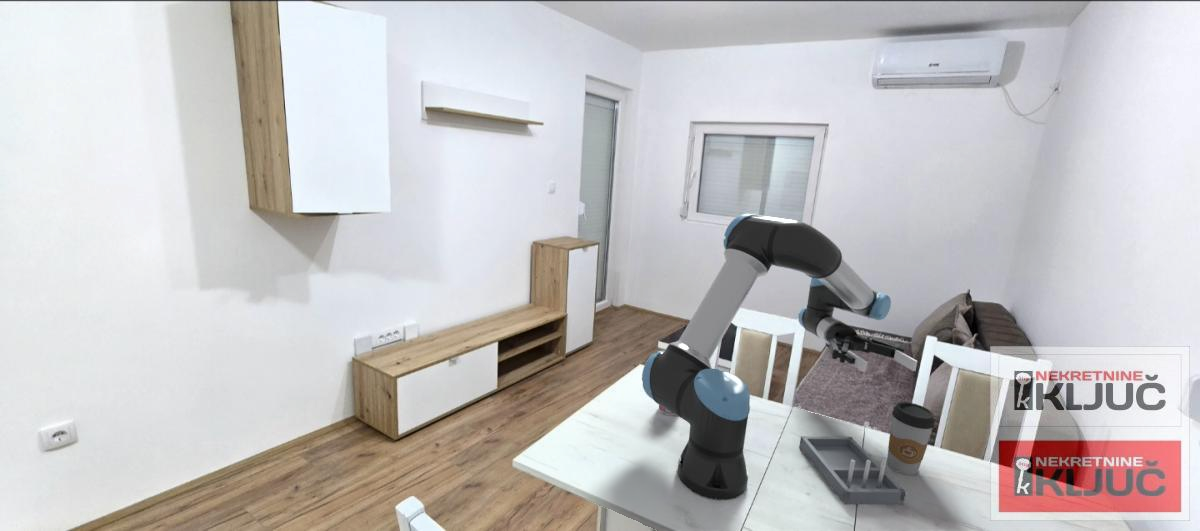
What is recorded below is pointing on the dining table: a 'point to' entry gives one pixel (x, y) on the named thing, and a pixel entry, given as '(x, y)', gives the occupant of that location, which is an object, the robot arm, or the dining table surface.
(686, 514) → the dining table surface
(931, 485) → the dining table surface
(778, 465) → the dining table surface
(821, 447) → the dish rack
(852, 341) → the robot arm
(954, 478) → the dining table surface
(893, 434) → the coffee cup
